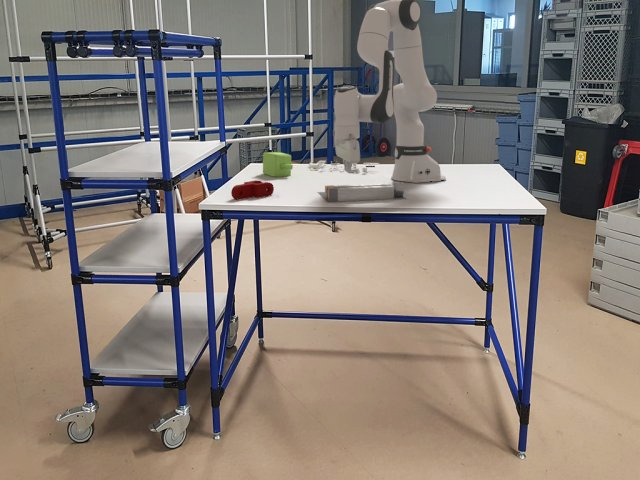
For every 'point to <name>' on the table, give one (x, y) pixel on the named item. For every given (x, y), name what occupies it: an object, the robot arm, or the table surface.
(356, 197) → the block
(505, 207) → the table surface
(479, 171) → the table surface
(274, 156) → the gearbox
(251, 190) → the mechanical linkage
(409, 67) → the robot arm
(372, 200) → the mat
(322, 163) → the miniature set
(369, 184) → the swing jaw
